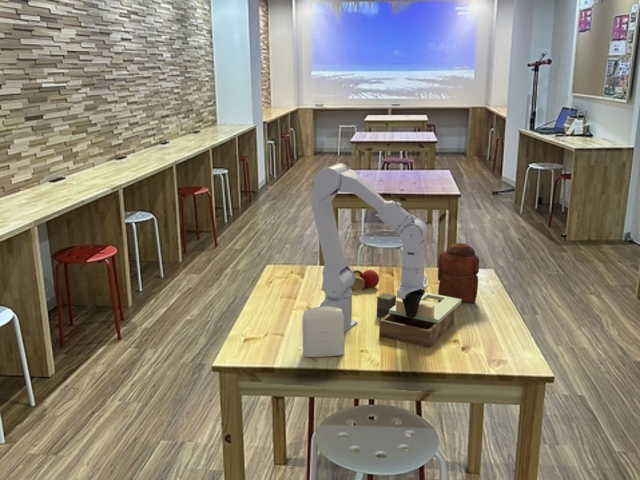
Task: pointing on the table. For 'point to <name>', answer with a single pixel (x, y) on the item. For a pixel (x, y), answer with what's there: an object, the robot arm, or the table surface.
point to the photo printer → (323, 332)
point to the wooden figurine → (458, 273)
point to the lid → (429, 308)
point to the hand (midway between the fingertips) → (411, 316)
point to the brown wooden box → (414, 329)
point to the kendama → (365, 279)
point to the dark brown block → (385, 304)
